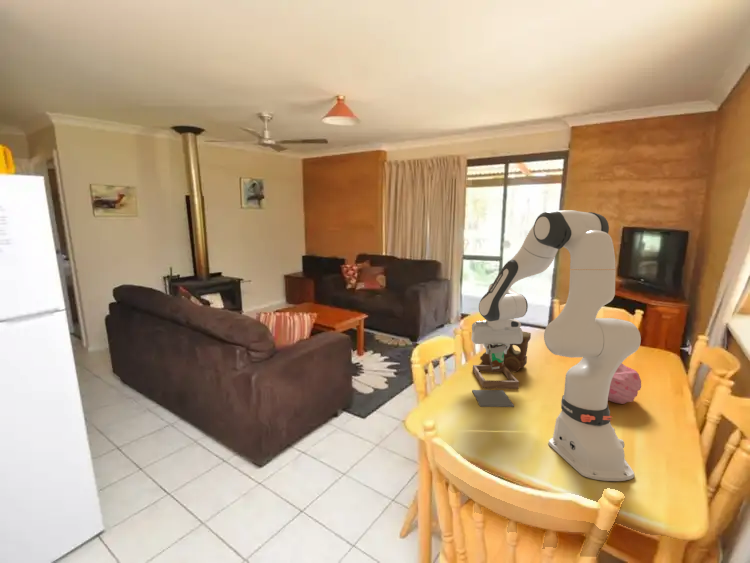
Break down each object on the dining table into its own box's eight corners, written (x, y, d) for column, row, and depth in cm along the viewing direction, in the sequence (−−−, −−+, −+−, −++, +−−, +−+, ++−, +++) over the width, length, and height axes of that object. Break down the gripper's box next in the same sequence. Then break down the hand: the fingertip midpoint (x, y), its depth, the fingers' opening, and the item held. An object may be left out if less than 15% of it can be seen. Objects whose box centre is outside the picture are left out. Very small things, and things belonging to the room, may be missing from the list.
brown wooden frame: (518, 388, 144) (518, 381, 144) (483, 388, 145) (483, 381, 144) (504, 371, 161) (504, 365, 161) (472, 371, 161) (472, 365, 161)
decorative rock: (597, 386, 146) (601, 351, 144) (641, 397, 137) (645, 360, 134) (587, 404, 132) (591, 365, 130) (635, 417, 123) (640, 376, 120)
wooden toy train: (529, 366, 167) (531, 331, 164) (523, 375, 157) (526, 338, 155) (486, 357, 178) (487, 325, 175) (478, 365, 168) (480, 331, 166)
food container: (508, 372, 144) (507, 347, 143) (492, 372, 146) (491, 348, 144) (504, 361, 156) (503, 338, 155) (489, 361, 158) (488, 339, 156)
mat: (513, 406, 130) (514, 405, 130) (480, 406, 130) (480, 405, 130) (502, 391, 142) (502, 390, 142) (472, 391, 142) (472, 389, 142)
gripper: (474, 323, 146) (473, 356, 147) (525, 323, 145) (523, 356, 147) (470, 319, 152) (469, 351, 154) (519, 319, 152) (517, 351, 153)
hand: (496, 353), depth 150 cm, fingers closed on food container, 5 cm apart
